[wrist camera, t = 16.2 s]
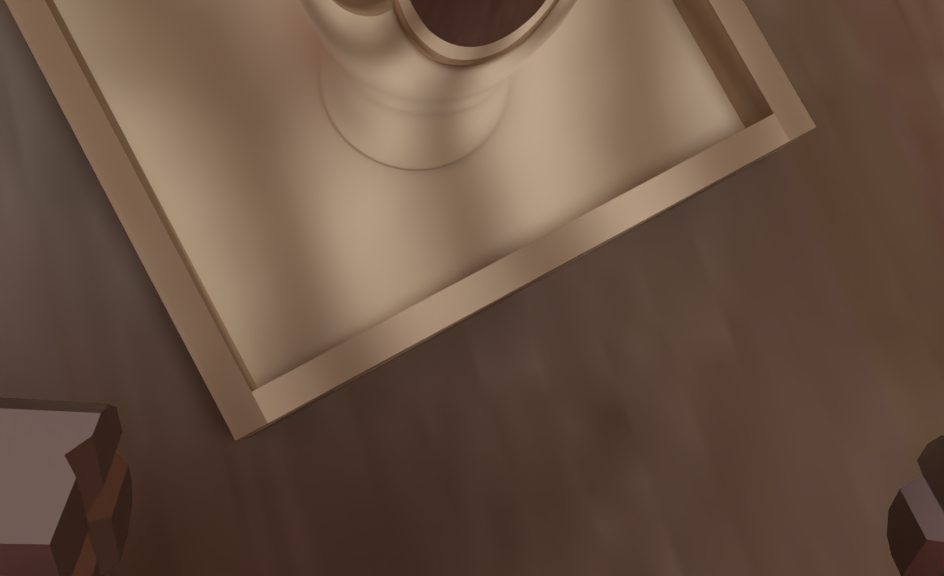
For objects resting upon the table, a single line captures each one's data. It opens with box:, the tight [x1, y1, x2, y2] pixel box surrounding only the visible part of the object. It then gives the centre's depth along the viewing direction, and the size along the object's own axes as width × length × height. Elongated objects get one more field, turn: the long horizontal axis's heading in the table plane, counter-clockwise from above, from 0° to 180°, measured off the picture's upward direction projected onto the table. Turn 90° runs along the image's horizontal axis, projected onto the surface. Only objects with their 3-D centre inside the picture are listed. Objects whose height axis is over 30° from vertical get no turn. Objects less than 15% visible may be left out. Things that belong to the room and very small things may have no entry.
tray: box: [5, 0, 816, 441], centre depth 29 cm, size 20×16×3 cm
